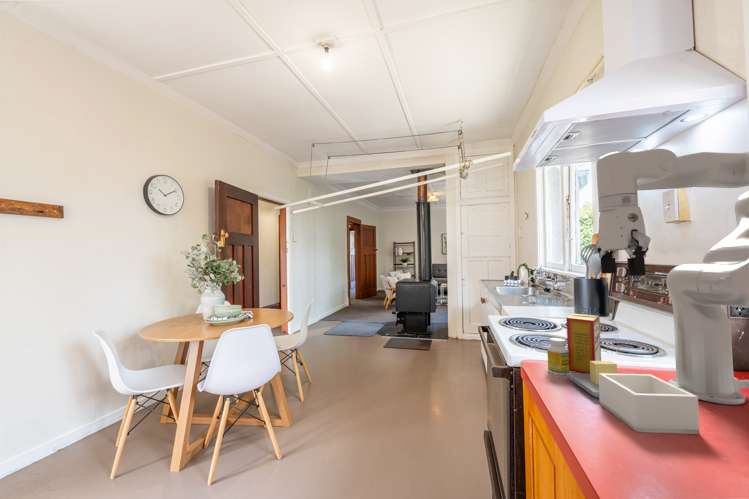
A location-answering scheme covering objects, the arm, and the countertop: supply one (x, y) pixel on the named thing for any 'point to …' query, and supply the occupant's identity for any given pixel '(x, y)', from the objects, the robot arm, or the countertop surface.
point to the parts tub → (649, 403)
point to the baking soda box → (583, 342)
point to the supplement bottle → (558, 357)
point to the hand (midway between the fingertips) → (621, 274)
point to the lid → (593, 376)
